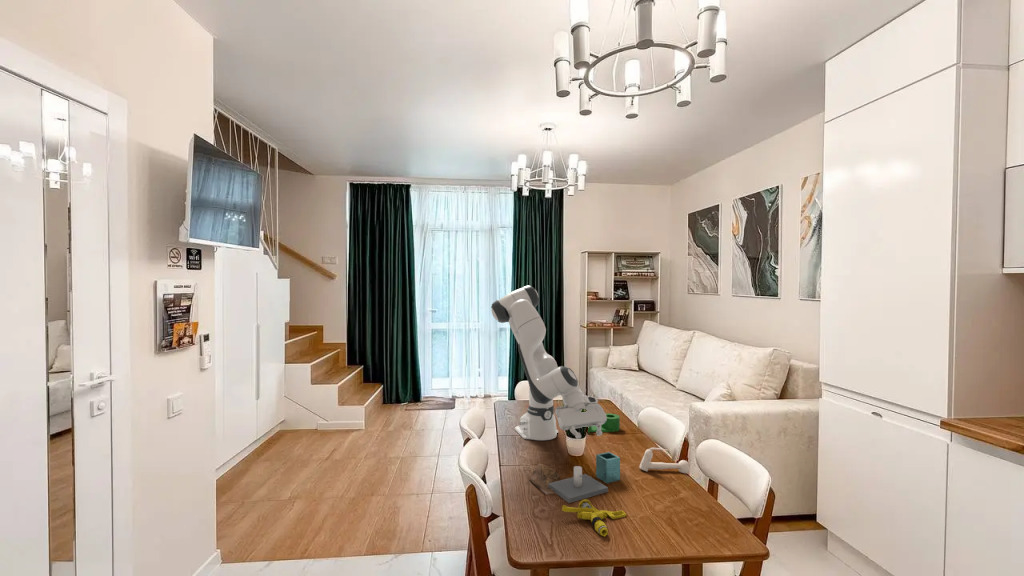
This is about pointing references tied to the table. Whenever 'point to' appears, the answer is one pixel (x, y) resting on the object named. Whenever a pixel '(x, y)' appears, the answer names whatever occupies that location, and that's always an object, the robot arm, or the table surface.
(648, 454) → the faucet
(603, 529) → the sprinkler
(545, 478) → the wooden fragment
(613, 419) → the green bracket
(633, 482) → the table surface
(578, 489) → the post
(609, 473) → the teal square cup
